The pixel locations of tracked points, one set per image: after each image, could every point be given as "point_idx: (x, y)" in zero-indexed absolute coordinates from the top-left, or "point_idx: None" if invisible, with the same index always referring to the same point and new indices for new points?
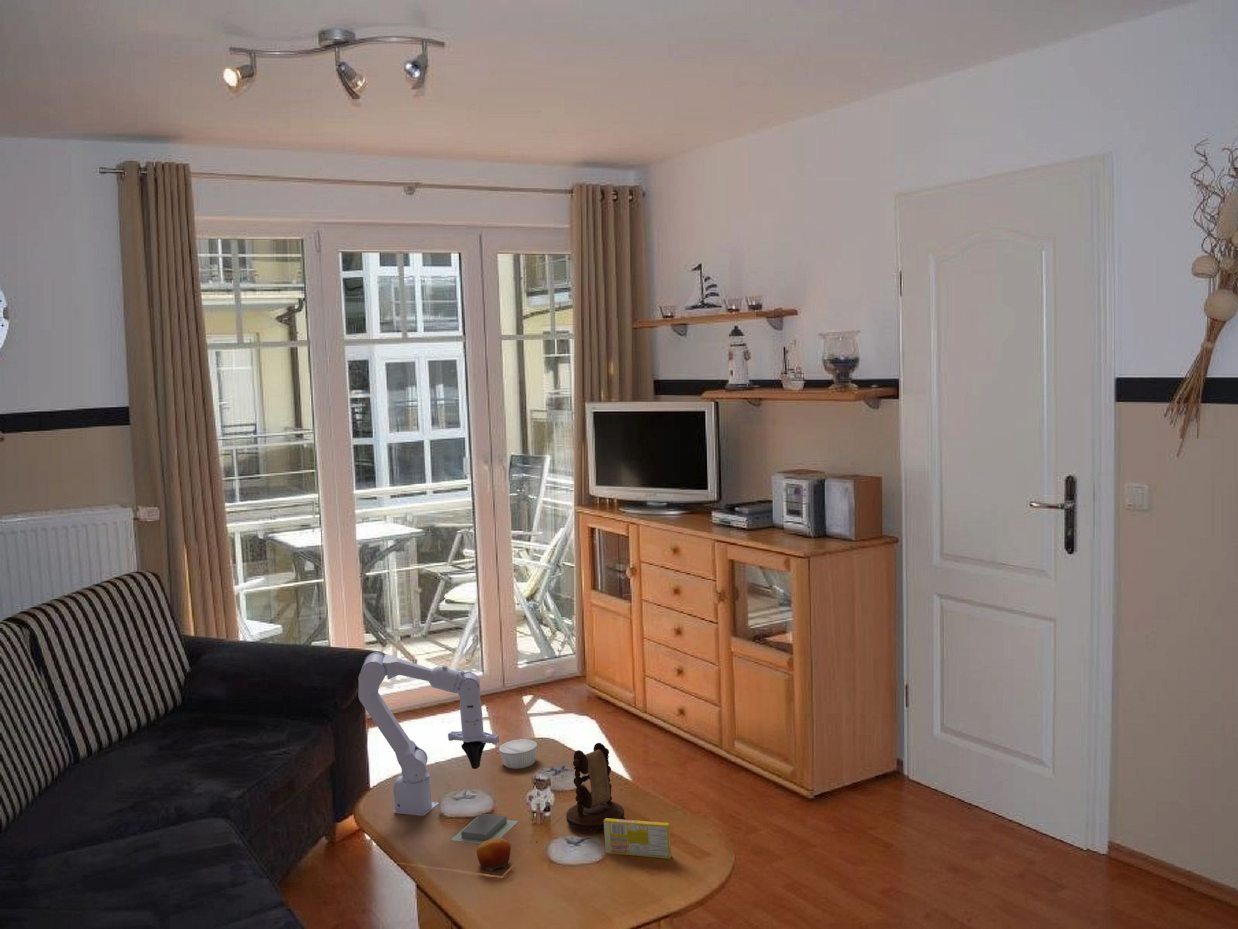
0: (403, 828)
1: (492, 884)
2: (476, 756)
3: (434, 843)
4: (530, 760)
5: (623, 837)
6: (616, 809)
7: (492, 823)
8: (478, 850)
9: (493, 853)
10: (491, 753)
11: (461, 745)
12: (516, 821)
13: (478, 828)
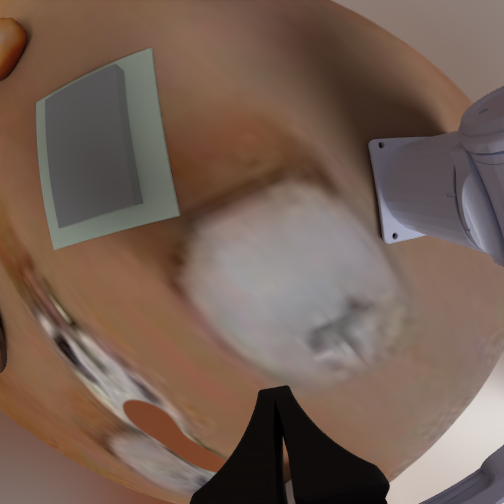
0: (361, 59)
1: None
2: (236, 449)
3: (193, 22)
4: None
5: None
6: None
7: (61, 161)
8: (5, 18)
9: None
10: (390, 474)
11: (385, 484)
12: (56, 245)
13: (78, 110)
